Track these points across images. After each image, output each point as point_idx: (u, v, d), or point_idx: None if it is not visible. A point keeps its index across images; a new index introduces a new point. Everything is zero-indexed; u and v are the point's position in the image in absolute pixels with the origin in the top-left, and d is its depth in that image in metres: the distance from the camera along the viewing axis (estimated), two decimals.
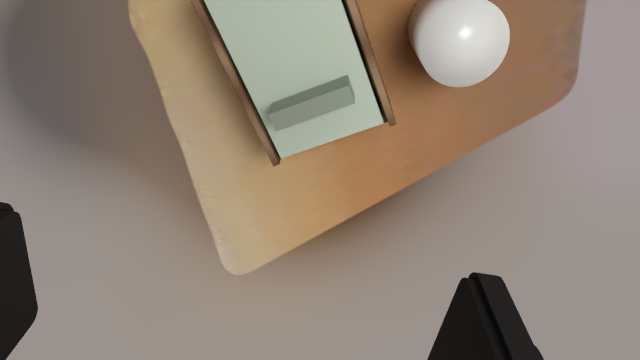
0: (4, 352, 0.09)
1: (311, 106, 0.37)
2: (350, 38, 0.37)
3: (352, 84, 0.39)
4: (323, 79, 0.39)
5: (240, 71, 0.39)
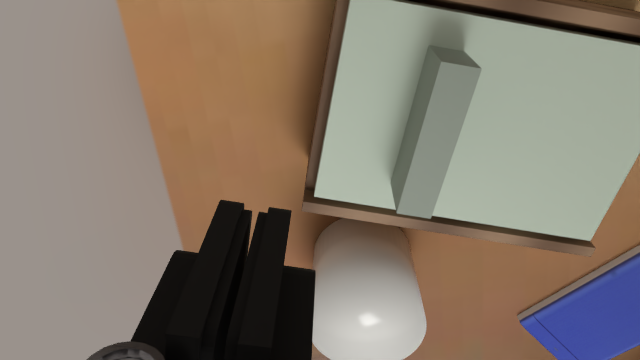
0: None
1: (439, 150, 0.19)
2: (465, 216, 0.24)
3: None
4: None
5: (554, 33, 0.19)
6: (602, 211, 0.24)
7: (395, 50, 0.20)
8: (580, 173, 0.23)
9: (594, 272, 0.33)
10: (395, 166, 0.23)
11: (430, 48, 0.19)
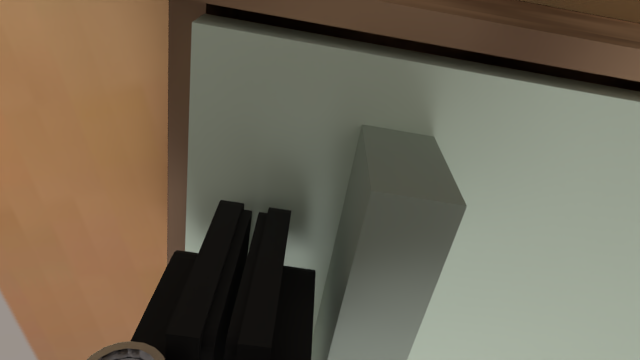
0: None
1: (380, 349, 0.09)
2: None
3: None
4: None
5: (615, 104, 0.10)
6: None
7: (296, 134, 0.10)
8: None
9: None
10: (316, 323, 0.13)
11: (363, 135, 0.09)
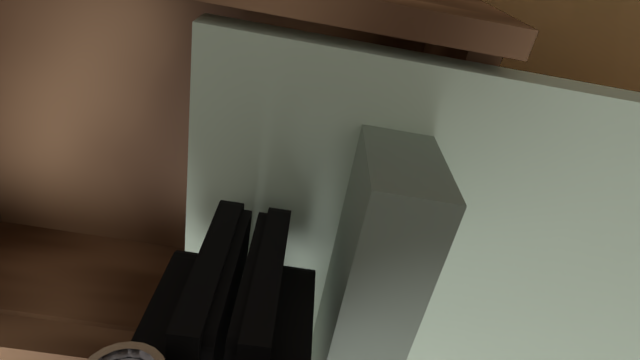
0: None
1: (380, 349, 0.09)
2: None
3: None
4: None
5: (615, 105, 0.10)
6: None
7: (296, 133, 0.10)
8: None
9: None
10: (315, 323, 0.13)
11: (363, 134, 0.09)
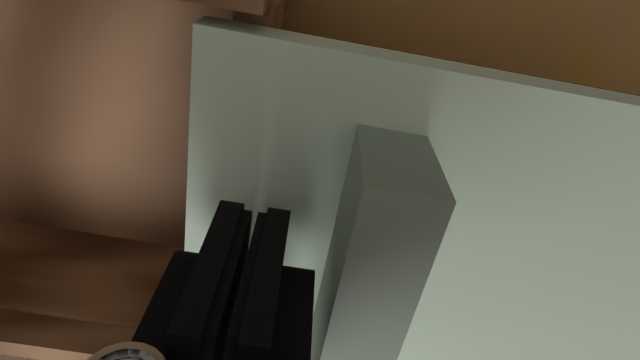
0: None
1: (373, 343, 0.09)
2: None
3: None
4: None
5: (604, 106, 0.10)
6: None
7: (293, 132, 0.10)
8: (635, 333, 0.13)
9: None
10: None
11: (358, 134, 0.10)
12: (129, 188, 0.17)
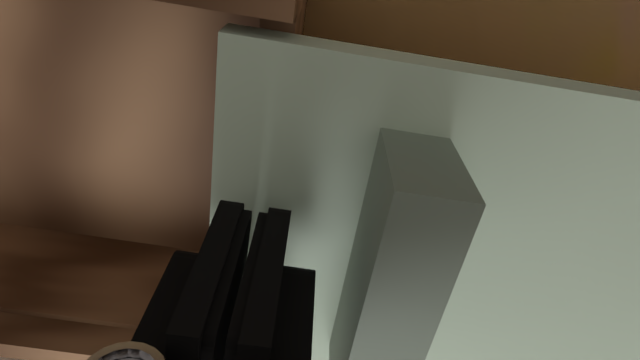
0: None
1: (401, 344, 0.10)
2: None
3: None
4: None
5: (627, 105, 0.10)
6: None
7: (317, 137, 0.10)
8: None
9: None
10: (335, 321, 0.13)
11: (382, 137, 0.10)
12: (150, 194, 0.18)
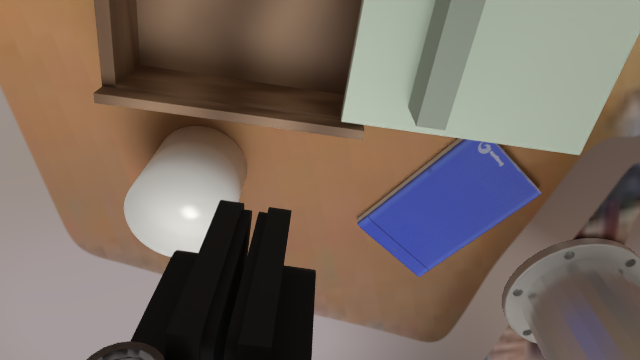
0: None
1: (453, 66, 0.23)
2: (472, 136, 0.28)
3: None
4: None
5: None
6: (590, 127, 0.27)
7: None
8: (570, 92, 0.26)
9: (416, 172, 0.36)
10: (412, 90, 0.26)
11: None
12: (293, 51, 0.31)
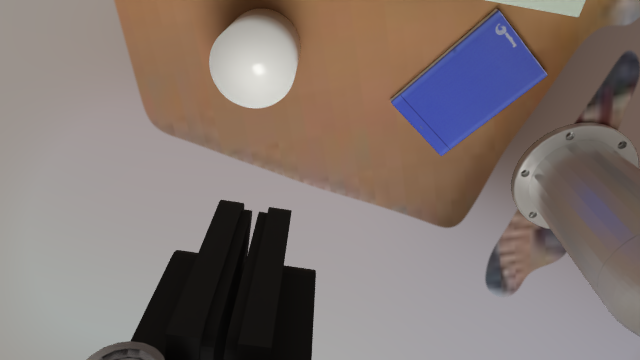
0: None
1: None
2: None
3: None
4: None
5: None
6: None
7: None
8: None
9: None
10: None
11: None
12: None
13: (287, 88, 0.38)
